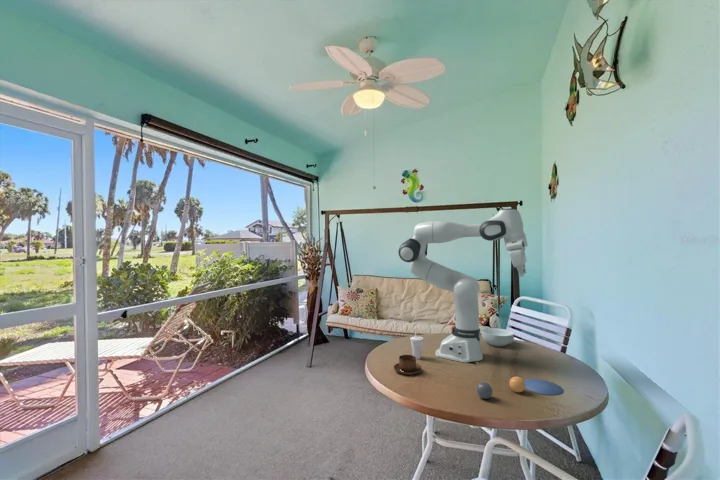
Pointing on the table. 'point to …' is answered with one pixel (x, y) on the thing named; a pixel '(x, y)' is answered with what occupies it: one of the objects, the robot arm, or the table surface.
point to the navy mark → (543, 387)
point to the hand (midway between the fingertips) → (522, 274)
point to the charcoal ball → (484, 390)
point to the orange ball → (517, 384)
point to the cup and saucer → (407, 365)
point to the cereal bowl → (497, 336)
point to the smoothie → (416, 346)
